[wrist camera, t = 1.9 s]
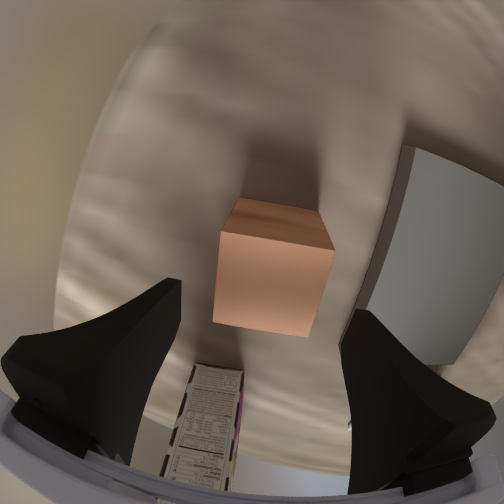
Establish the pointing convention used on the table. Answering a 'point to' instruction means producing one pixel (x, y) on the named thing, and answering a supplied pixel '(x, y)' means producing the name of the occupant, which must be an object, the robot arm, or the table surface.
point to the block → (271, 267)
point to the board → (436, 256)
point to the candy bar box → (206, 430)
